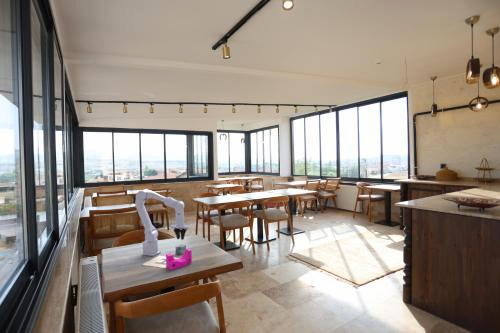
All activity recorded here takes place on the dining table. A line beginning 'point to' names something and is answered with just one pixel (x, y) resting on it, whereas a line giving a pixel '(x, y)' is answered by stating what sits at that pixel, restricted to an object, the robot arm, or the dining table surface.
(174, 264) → the toy block
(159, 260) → the letter board
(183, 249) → the slate-blue cube
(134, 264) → the dining table surface
